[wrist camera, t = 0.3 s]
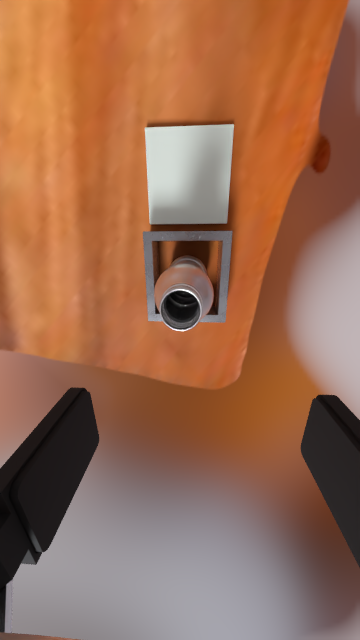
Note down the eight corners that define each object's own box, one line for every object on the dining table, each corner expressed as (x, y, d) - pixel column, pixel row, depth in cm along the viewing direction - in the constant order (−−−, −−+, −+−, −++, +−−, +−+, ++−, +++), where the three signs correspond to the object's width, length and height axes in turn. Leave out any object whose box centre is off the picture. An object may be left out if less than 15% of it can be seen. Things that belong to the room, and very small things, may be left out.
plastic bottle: (206, 254, 34) (222, 266, 15) (206, 294, 36) (218, 347, 18) (168, 255, 35) (137, 268, 16) (169, 294, 37) (145, 347, 18)
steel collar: (150, 233, 34) (142, 231, 29) (226, 232, 33) (232, 230, 28) (154, 311, 38) (148, 320, 34) (221, 312, 37) (225, 322, 33)
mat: (146, 130, 29) (145, 127, 28) (232, 127, 28) (233, 124, 27) (150, 224, 33) (149, 224, 32) (226, 223, 32) (227, 223, 32)
